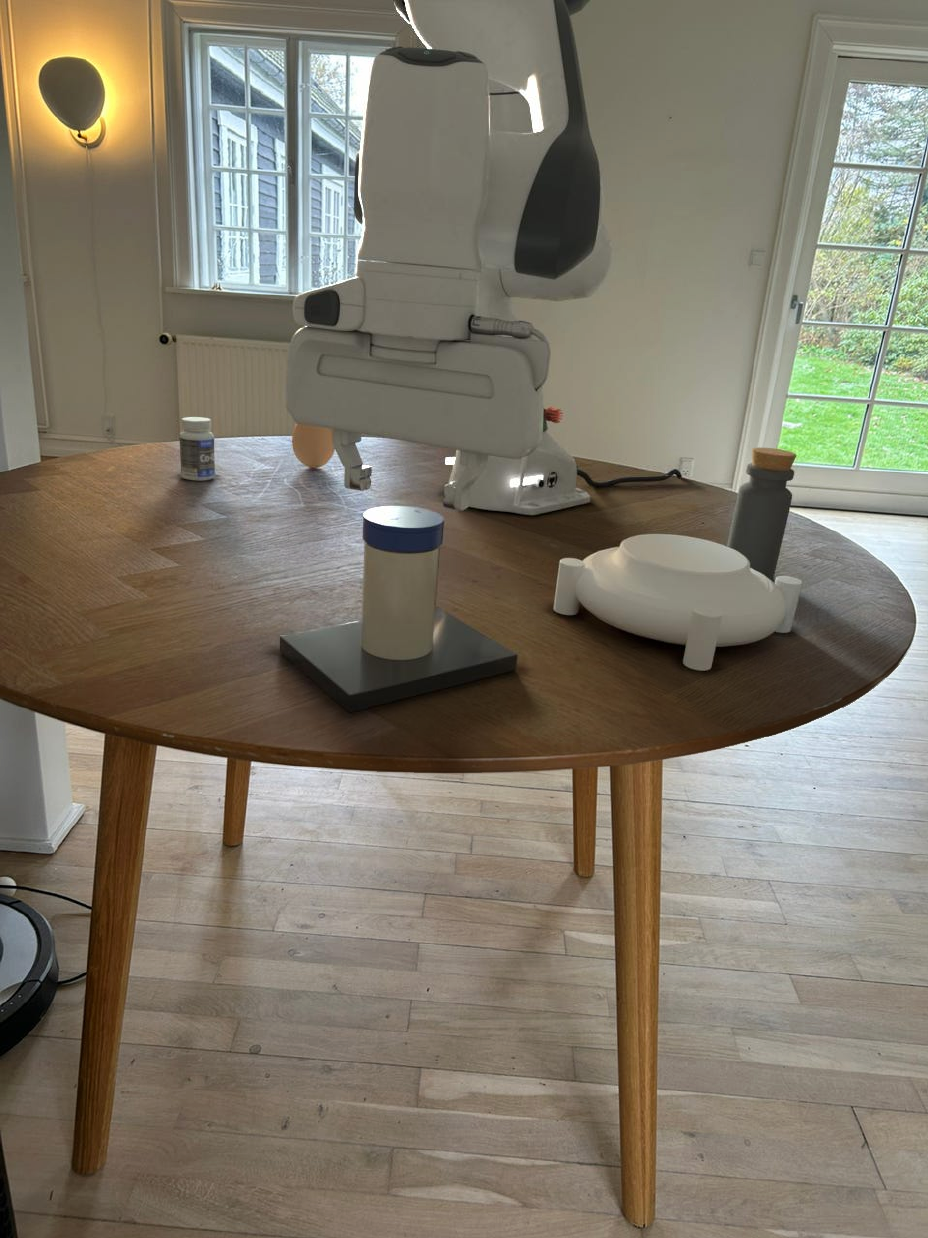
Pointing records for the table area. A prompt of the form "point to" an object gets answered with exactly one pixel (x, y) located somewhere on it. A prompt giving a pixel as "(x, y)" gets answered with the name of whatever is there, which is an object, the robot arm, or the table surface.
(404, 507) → the lid
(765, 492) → the bottle
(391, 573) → the jar
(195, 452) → the pill bottle
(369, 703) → the board
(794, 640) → the table surface
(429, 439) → the robot arm
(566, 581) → the round stand with pegs
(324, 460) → the egg
